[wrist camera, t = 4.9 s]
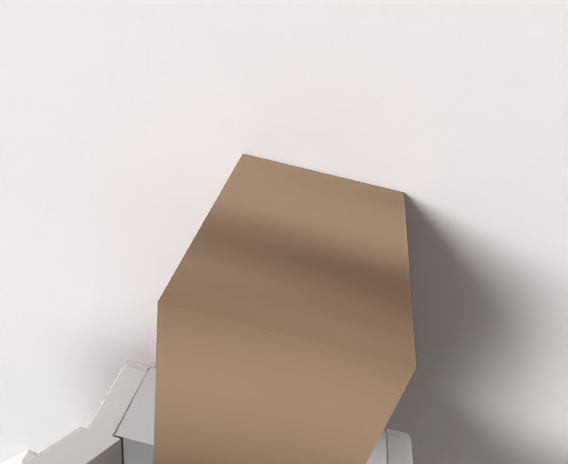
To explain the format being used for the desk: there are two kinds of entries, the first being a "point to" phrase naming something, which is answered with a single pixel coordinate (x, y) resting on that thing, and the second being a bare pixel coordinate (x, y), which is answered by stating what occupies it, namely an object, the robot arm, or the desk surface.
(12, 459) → the butcher knife
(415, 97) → the desk surface
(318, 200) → the wooden handled scraper
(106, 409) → the robot arm
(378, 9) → the desk surface
